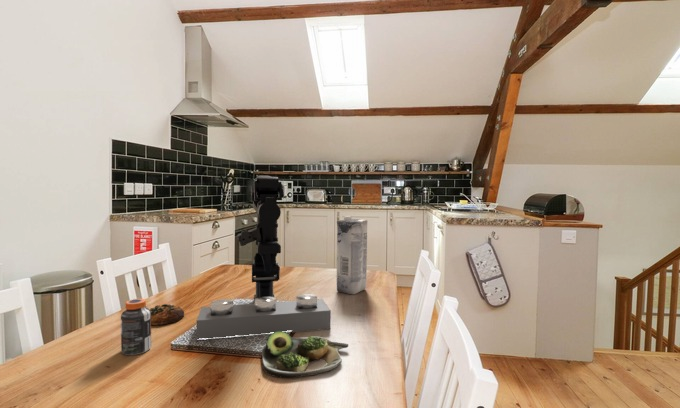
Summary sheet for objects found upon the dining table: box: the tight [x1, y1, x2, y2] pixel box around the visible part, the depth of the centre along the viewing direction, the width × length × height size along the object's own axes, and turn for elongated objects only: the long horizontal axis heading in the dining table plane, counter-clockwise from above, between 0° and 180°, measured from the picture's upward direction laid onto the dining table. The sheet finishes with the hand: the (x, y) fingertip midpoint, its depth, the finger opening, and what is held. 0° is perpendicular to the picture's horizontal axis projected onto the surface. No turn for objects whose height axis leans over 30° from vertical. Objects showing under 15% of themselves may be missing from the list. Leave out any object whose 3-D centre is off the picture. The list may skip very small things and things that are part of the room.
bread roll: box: [149, 303, 185, 326], centre depth 101 cm, size 11×11×5 cm
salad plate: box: [261, 331, 349, 379], centre depth 80 cm, size 19×18×5 cm
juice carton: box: [336, 215, 368, 295], centre depth 131 cm, size 9×10×27 cm
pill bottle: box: [120, 298, 152, 356], centre depth 82 cm, size 6×6×11 cm
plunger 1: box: [209, 298, 234, 316], centre depth 93 cm, size 6×6×7 cm
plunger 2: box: [295, 293, 318, 309], centre depth 99 cm, size 6×6×7 cm
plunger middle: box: [254, 296, 277, 313], centre depth 96 cm, size 6×6×7 cm
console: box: [196, 298, 332, 340], centre depth 96 cm, size 10×33×5 cm, turn 105°
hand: (267, 272), depth 106 cm, fingers closed
